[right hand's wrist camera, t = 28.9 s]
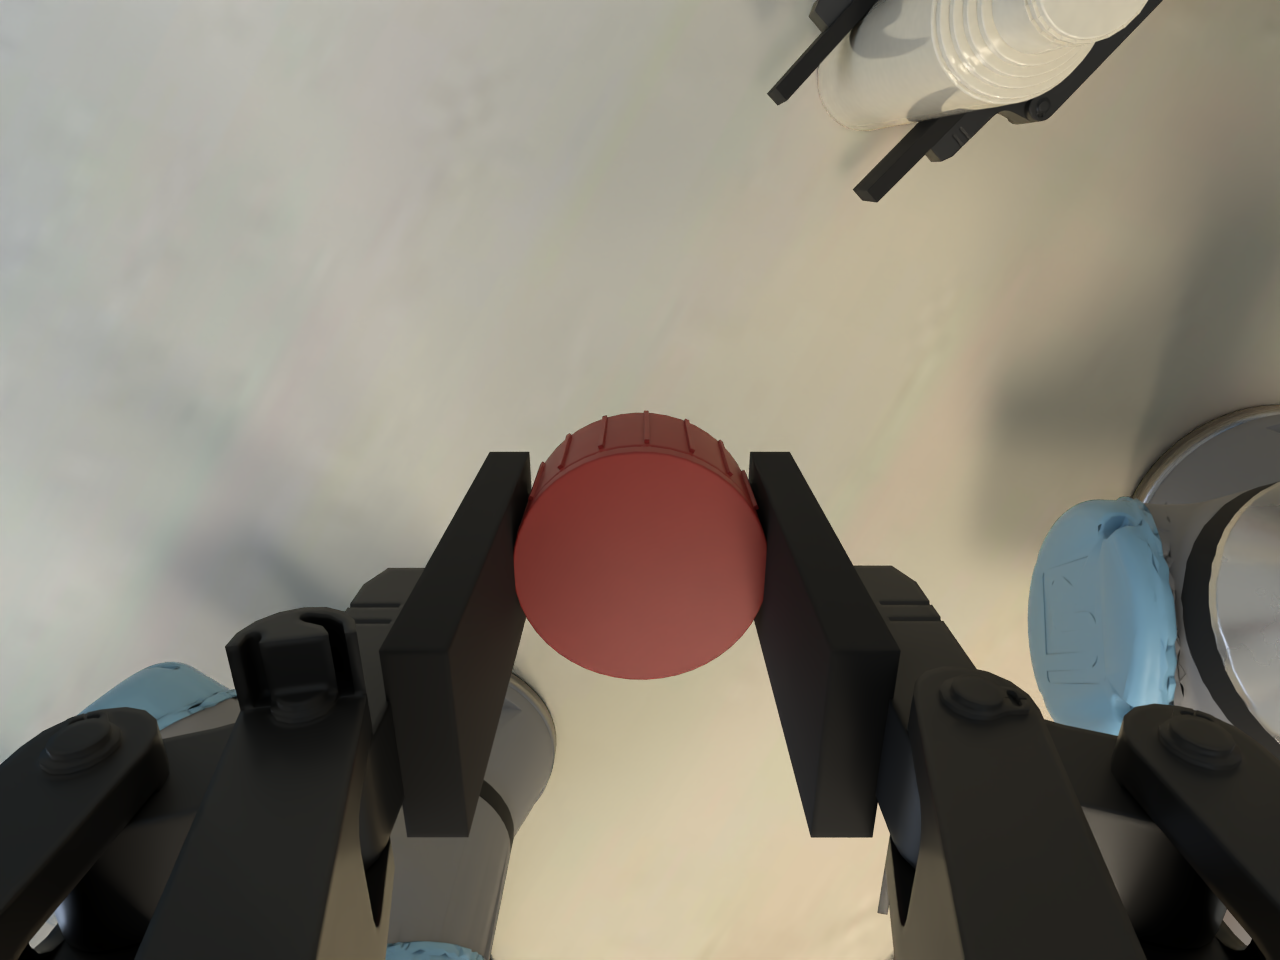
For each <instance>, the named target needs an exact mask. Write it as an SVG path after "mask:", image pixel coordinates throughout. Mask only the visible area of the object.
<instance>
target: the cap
mask: <svg viewBox="0 0 1280 960" xmlns="http://www.w3.org/2000/svg"><path fill="white" fill-rule="evenodd" d="M757 509H759V508H758V505H757V502H756V499H755V497H754V494H753V491H752V488H751V486H750V483H749V480H748V478H747V475H746V472H745V470H743V471H741V470H740V468H739V466H738V464H737V463H736V461H735V460H734V459H733V457H732V456H731V454H730V453H729V452H728V451H727V450H726V449H725V447H724V444H723V442H722V441H721V440H719V441H717V440H716V439H715V438H713V437H712V436H711V435H709V434H708V433H707V432H705V431H703V430H702V429H700V428H698V427H697V426H695V425H693V424H690V423H689V420H687V419H685V420H684V421H683V420H681V419H677V418H674V417H670V416H667V415H660V414H654V413H649V412H648V411H644V413H629V414H620V415H616V416H612V417H607V415H606V416H603V417H602V419H601V420H599V421H596V422H593V423H591V424H589V425H587V426H585V427H583V428H582V429H580V430H578V431H577V432H575V433H574V434H572V435H571V434H570V433H569V434H568V435H567V436H566V439H565V441H563V442H562V443H561V444H560V445H559V446H558V447H557V448H556V449H555V450H554V452H553V453H552V454H551V455H550V457H549V458H548V459H547V461H546V462H545V463H544V462H542V463H541V464H540V467H539V470H538V473H537V476H536V478H535V481H534V484H533V487H532V490H531V492H530V495H529V498H528V503H527V506H526V509H525V512H524V514H523V517H522V520H521V523H520V526H519V529H518V531H517V537H516V541H515V545H514V550H513V560H514V575H515V588H516V594H517V597H518V600H519V603H520V605H521V608H522V609H523V611H524V613H525V615H526V617H527V619H528V621H529V622H530V624H531V625H532V626H533V628H534V629H535V631H536V632H537V633H538V634H539V635H540V636H541V638H542V639H543V640H544V641H545V642H546V643H547V644H548V645H549V646H551V647H552V648H553V649H554V650H555V651H557V652H558V653H559V654H561V655H562V656H564V657H565V658H567V659H568V660H570V661H571V662H573V663H575V664H577V665H579V666H581V667H583V668H586V669H588V670H591V671H594V672H597V673H599V674H603V675H607V676H612V677H617V678H624V679H643V680H647V679H658V678H665V677H670V676H675V675H679V674H682V673H685V672H688V671H691V670H694V669H696V668H698V667H700V666H702V665H705V664H707V663H708V662H710V661H712V660H713V659H715V658H717V657H718V656H720V655H721V654H722V653H724V652H725V651H726V650H728V649H729V648H730V647H731V646H732V645H733V644H734V643H735V642H736V641H737V640H738V639H739V638H740V637H741V636H742V635H743V634H744V633H745V631H746V630H747V629H748V628H749V626H750V625H751V624H752V622H753V620H754V618H755V617H756V615H757V613H758V611H759V609H760V607H761V604H762V602H763V597H764V583H765V569H766V554H767V541H766V537H765V534H764V531H763V528H762V525H761V523H760V520H759V517H758V514H757V511H756V510H757Z"/></svg>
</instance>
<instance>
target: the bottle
mask: <svg viewBox="0 0 1280 960" xmlns="http://www.w3.org/2000/svg"><path fill="white" fill-rule="evenodd" d="M1147 1H1148V0H878V1H877V2H876V3H875V4H874V5H873V6H872V8H871V9H870V10H869V11H868V12H867V13H866V14H865V15H864V16H863V17H862V19H861V20H860V21H859V22H858V23H857V24H856V25H855V26H854V27H853V28H852V30H851V31H850V32H849V33H848V34H847V35H846V36H845V37H844V38H843V39H842V41H841V42H840V43H839V44H838V45H837V46H836V47H835V48H834V49H833V50H832V52H831V53H830V54H829V55H828V56H827V57H826V58H825V59H824V60H823V61H822V63H821V64H820V65H819V69H818V90H819V94H820V98H821V101H822V103H823V105H824V107H825V109H826V111H827V112H828V113H829V115H830V116H831V117H832V118H833V119H834V120H835V121H836V122H838V123H839V124H840V125H842V126H844V127H846V128H849V129H852V130H856V131H872V130H877V129H883V128H888V127H893V126H899V125H904V124H909V123H914V122H920V121H925V120H930V119H936V118H941V117H946V116H951V115H957V114H962V113H967V112H973V111H978V110H983V109H988V108H994V107H999V106H1004V105H1010V104H1015V103H1019V102H1023V101H1027V100H1030V99H1033V98H1035V97H1038V96H1040V95H1042V94H1044V93H1045V92H1047V91H1049V90H1051V89H1052V88H1054V87H1055V86H1056V85H1058V84H1059V83H1061V82H1062V81H1063V80H1064V79H1065V78H1066V77H1067V76H1069V75H1070V74H1071V73H1072V72H1073V70H1074V69H1075V68H1076V67H1077V66H1078V65H1079V64H1080V63H1081V62H1082V61H1083V59H1084V58H1085V57H1086V55H1087V54H1088V53H1089V51H1090V50H1091V48H1092V47H1093V45H1094V43H1095V42H1096V41H1100V40H1103V39H1106V38H1109V37H1110V36H1112V35H1114V34H1115V33H1117V32H1118V31H1120V30H1122V29H1123V28H1125V27H1126V26H1127V25H1128V24H1129V23H1130V22H1131V21H1132V20H1133V19H1134V18H1135V17H1136V16H1137V15H1138V14H1139V13H1140V12H1141V10H1142V9H1143V7H1144V6H1145V4H1146V3H1147Z"/></svg>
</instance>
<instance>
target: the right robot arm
mask: <svg viewBox="0 0 1280 960" xmlns="http://www.w3.org/2000/svg"><path fill="white" fill-rule="evenodd" d="M749 483H750V486H751V488H752V491H753V494H754V497H755V499H756V502H757V505H758V508H759V509H757V510H756V511H757V514H758V517H759V520H760V523H761V525H762V528H763V531H764V534H765V537H766V541H767V554H766V569H765V583H764V597H763V602H762V604H761V607H760V609H759V611H758V613H757V615H756V617H755V618H754V621H755V625H756V629H757V633H758V637H759V640H760V644H761V648H762V652H763V656H764V660H765V663H766V667H767V671H768V675H769V679H770V683H771V686H772V690H773V694H774V698H775V702H776V705H777V709H778V713H779V717H780V721H781V725H782V728H783V732H784V736H785V740H786V744H787V748H788V751H789V755H790V759H791V763H792V767H793V770H794V774H795V778H796V782H797V786H798V790H799V793H800V797H801V801H802V805H803V809H804V812H805V816H806V820H807V824H808V828H809V832H810V835H811V837H873V830H874V823H875V817H876V810H877V804H879V806H880V809H881V811H882V814H883V816H884V819H885V822H886V824H887V827H888V829H889V832H890V838H889V845H888V851H887V857H886V863H885V869H884V875H883V881H882V887H881V894H880V900H879V906H878V913H881V914H886V915H887V913H888V908H890V918H891V928H892V937H893V947H894V957H895V960H1280V760H1278V759H1277V758H1276V757H1275V756H1274V755H1273V754H1272V753H1270V752H1269V751H1268V750H1267V749H1266V748H1265V747H1264V746H1262V745H1261V744H1260V743H1259V742H1257V741H1256V740H1254V739H1253V738H1251V737H1250V736H1248V735H1247V734H1246V733H1244V732H1243V731H1241V730H1240V729H1238V728H1237V727H1235V726H1233V725H1231V724H1228V723H1226V722H1224V721H1222V720H1220V719H1218V718H1216V717H1214V716H1212V715H1210V714H1208V713H1205V712H1202V711H1199V710H1193V709H1191V708H1187V707H1182V706H1175V705H1165V704H1155V703H1154V704H1149V705H1143V706H1137V707H1134V708H1133V709H1132V710H1130V711H1129V712H1128V713H1127V714H1125V715H1124V717H1123V721H1122V724H1121V728H1120V731H1119V734H1118V736H1116V735H1111V734H1106V733H1102V732H1097V731H1092V730H1087V729H1082V728H1077V727H1072V726H1068V725H1063V724H1059V723H1056V722H1052V721H1048V720H1045V719H1044V718H1043V716H1042V714H1041V711H1040V709H1039V708H1038V707H1037V705H1036V704H1035V702H1034V701H1033V700H1032V698H1031V697H1030V696H1029V695H1028V694H1027V693H1026V692H1024V691H1023V690H1022V689H1020V688H1019V687H1017V686H1016V685H1015V684H1013V683H1012V682H1010V681H1008V680H1006V679H1004V678H1001V677H999V676H997V675H994V674H992V673H990V672H987V671H982V670H978V669H976V667H975V666H974V665H973V663H972V662H971V660H970V659H969V657H968V656H967V655H966V653H965V652H964V650H963V649H962V647H961V646H960V644H959V643H958V642H957V640H956V639H955V637H954V636H953V634H952V633H951V631H950V630H949V629H948V627H947V626H946V624H945V623H944V621H941V620H940V616H939V614H938V613H937V611H936V610H935V608H934V607H933V606H932V605H930V604H929V600H928V598H927V597H926V595H925V594H924V593H923V591H922V590H921V588H920V587H919V585H918V584H917V582H915V581H914V580H912V579H911V578H909V577H908V576H906V575H905V574H903V573H902V572H900V571H899V570H897V569H896V568H894V567H893V566H853V564H852V562H851V561H850V559H849V557H848V555H847V554H846V552H845V550H844V548H843V546H842V545H841V543H840V541H839V539H838V537H837V536H836V534H835V532H834V530H833V528H832V527H831V525H830V523H829V521H828V520H827V518H826V516H825V514H824V512H823V511H822V509H821V507H820V505H819V503H818V502H817V500H816V498H815V496H814V495H813V493H812V491H811V489H810V487H809V486H808V484H807V482H806V480H805V478H804V477H803V475H802V473H801V471H800V469H799V468H798V466H797V464H796V462H795V461H794V459H793V457H792V455H791V453H790V452H750V464H749ZM530 492H531V472H530V455H529V452H489V454H488V456H487V458H486V460H485V461H484V463H483V465H482V467H481V469H480V470H479V472H478V474H477V476H476V478H475V479H474V481H473V483H472V485H471V486H470V488H469V490H468V492H467V494H466V495H465V497H464V499H463V501H462V503H461V504H460V506H459V508H458V510H457V511H456V513H455V515H454V517H453V519H452V520H451V522H450V524H449V526H448V528H447V529H446V531H445V533H444V535H443V537H442V538H441V540H440V542H439V544H438V545H437V547H436V549H435V551H434V553H433V554H432V556H431V558H430V560H429V562H428V563H427V565H426V567H425V568H388V569H386V570H385V571H383V572H382V573H380V574H379V575H377V576H376V577H374V578H373V579H371V580H370V581H368V582H367V583H365V584H364V585H363V586H362V588H361V589H360V591H359V592H358V593H357V595H356V596H355V598H354V599H353V601H352V602H351V604H350V608H347V609H346V611H345V612H344V611H340V610H335V609H331V608H327V607H306V608H299V609H294V610H289V611H283V612H279V613H276V614H274V615H271V616H268V617H266V618H263V619H260V620H258V621H255V622H254V623H252V624H251V625H249V626H247V627H246V628H244V629H243V630H241V631H239V632H238V633H237V634H236V635H235V636H234V637H233V638H232V639H231V640H230V642H229V643H228V644H227V645H226V646H225V648H226V653H227V657H228V661H229V665H230V669H231V673H232V677H233V682H234V686H235V689H234V690H230V689H228V688H226V687H225V686H223V685H221V684H220V683H218V682H216V681H215V680H213V679H211V678H210V677H208V676H206V675H205V674H203V673H201V672H200V671H198V670H196V669H195V668H193V667H191V666H189V665H186V664H184V663H179V662H165V663H159V664H155V665H152V666H150V667H147V668H145V669H143V670H141V671H139V672H137V673H135V674H134V675H132V676H130V677H129V678H127V679H126V680H124V681H123V682H121V683H120V684H118V685H117V686H115V687H114V688H113V689H111V690H110V691H108V692H107V693H106V694H104V695H103V696H102V697H100V698H99V699H97V700H96V701H95V702H93V703H92V704H91V705H89V706H88V707H87V708H86V709H84V710H83V711H82V712H80V713H79V714H78V715H77V716H74V717H71V718H69V719H67V720H66V721H64V722H61V723H59V724H57V725H55V726H53V727H51V728H49V729H47V730H44V731H43V732H41V733H40V734H39V735H37V736H36V737H34V738H33V739H31V740H30V741H29V742H27V743H26V744H24V745H23V746H21V747H20V748H19V749H18V750H17V751H15V752H14V753H13V754H12V755H11V756H10V757H9V758H8V759H6V760H5V761H4V762H3V763H2V764H1V765H0V960H491V958H490V955H491V950H492V945H493V940H494V934H495V929H496V924H497V919H498V914H499V909H500V904H501V899H502V894H503V889H504V884H505V879H506V874H507V868H508V863H509V858H510V853H511V848H512V843H513V839H514V836H515V835H516V833H517V832H518V830H519V828H520V827H521V825H522V824H523V822H524V820H525V819H526V817H527V816H528V814H529V812H530V811H531V809H532V807H533V805H534V804H535V802H536V801H537V800H538V799H539V797H540V796H541V795H542V793H543V791H544V789H545V787H546V785H547V782H548V780H549V777H550V775H551V772H552V768H553V763H554V757H555V751H556V734H555V728H554V724H553V721H552V718H551V716H550V713H549V712H548V710H547V708H546V706H545V704H544V703H543V702H542V700H541V699H540V697H539V696H538V695H537V694H536V693H535V692H534V691H533V690H532V689H531V688H530V687H529V686H528V685H527V684H526V683H525V682H523V681H522V680H521V679H520V678H518V677H517V676H515V675H514V674H512V669H513V665H514V662H515V658H516V654H517V650H518V646H519V643H520V639H521V635H522V631H523V627H524V623H525V620H526V615H525V613H524V611H523V609H522V608H521V605H520V603H519V600H518V597H517V594H516V588H515V575H514V560H513V550H514V545H515V541H516V537H517V531H518V529H519V526H520V523H521V520H522V517H523V514H524V512H525V509H526V506H527V503H528V498H529V495H530ZM1227 909H1228V910H1229V912H1230V913H1231V914H1232V915H1233V916H1234V918H1235V919H1236V920H1237V921H1238V922H1239V923H1240V925H1241V926H1242V927H1243V928H1244V929H1245V931H1246V932H1247V933H1248V934H1249V935H1250V937H1251V938H1252V940H1251V942H1250V944H1249V945H1248V946H1247V945H1245V944H1244V943H1243V942H1242V941H1241V940H1240V939H1239V938H1238V937H1237V936H1236V935H1235V934H1234V933H1233V932H1232V931H1231V930H1230V928H1229V927H1228V926H1227V925H1226V924H1225V922H1224V921H1223V918H1224V915H1225V913H1226V910H1227Z"/></svg>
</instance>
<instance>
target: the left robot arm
mask: <svg viewBox="0 0 1280 960" xmlns="http://www.w3.org/2000/svg"><path fill="white" fill-rule="evenodd" d="M877 1H878V0H817V1H816V2H815V3H814V5H813V7H812V10H811V12H810V14H809V18H810V19H811V20H812V21H813V22H814V23H815V25H816V26H817V27H818V28H819V29H820V31H821V32H822V33H821V34H820V35H819V36H818V38H817V39H816V40H815V41H814V42H813V43H812V44H811V45H810V46H809V48H808V49H807V50H806V51H805V52H804V53H803V54H802V55H801V56H800V58H799V59H798V60H797V61H796V62H795V63H794V64H793V65H792V66H791V68H790V69H789V70H788V71H787V72H786V73H785V74H784V75H783V76H782V78H781V79H780V80H779V81H778V82H777V83H776V84H775V85H774V86H773V88H772V89H771V90H770V91H769V92H768V93H767V94H768V95H769V96H770V97H771V99H772V100H773V101H774V102H775V103H776V104H777V105H779V104H781V103H783V102H785V101H787V100H788V99H789V98H790V97H791V95H792V94H793V93H794V92H795V91H796V90H797V89H798V88H799V87H800V86H801V84H802V83H803V82H804V81H805V80H806V79H807V78H808V77H809V76H810V75H811V73H812V72H813V71H814V70H815V69H816V68H817V67H818V66H819V65H820V64H821V63H822V61H823V60H824V59H825V58H826V57H827V56H828V55H829V54H830V53H831V52H832V50H833V49H834V48H835V47H836V46H837V45H838V44H839V43H840V42H841V41H842V39H843V38H844V37H845V36H846V35H847V34H848V33H849V32H850V31H851V30H852V28H853V27H854V26H855V25H856V24H857V23H858V22H859V21H860V20H861V19H862V17H863V16H864V15H865V14H866V13H867V12H868V11H869V10H870V9H871V8H872V6H873V5H874V4H875V3H876V2H877ZM1161 2H1162V0H1148V1H1147V3H1146V4H1145V6H1144V7H1143V9H1142V10H1141V12H1140V13H1139V14H1138V15H1137V16H1136V17H1135V18H1134V19H1133V20H1132V21H1131V22H1130V23H1129V24H1128V25H1127V26H1126V27H1125V28H1123V29H1122V30H1120V31H1118V32H1117V33H1115V34H1114V35H1112V36H1110V37H1109V38H1106V39H1103V40H1100V41H1096V42H1095V43H1094V45H1093V47H1092V48H1091V50H1090V51H1089V53H1088V54H1087V55H1086V57H1085V58H1084V59H1083V61H1082V62H1081V63H1080V64H1079V65H1078V66H1077V67H1076V68H1075V69H1074V70H1073V72H1072V73H1071V74H1070V75H1069V76H1067V77H1066V78H1065V79H1064V80H1063V81H1062V82H1061V83H1059V84H1058V85H1056V86H1055V87H1054V88H1052V89H1051V90H1049V91H1047V92H1045V93H1044V94H1042V95H1040V96H1038V97H1035V98H1033V99H1030V100H1027V101H1023V102H1019V103H1015V104H1010V105H1004V106H999V107H994V108H988V109H983V110H978V111H973V112H967V113H962V114H957V115H951V116H946V117H941V118H936V119H930V120H925V121H920V122H919V123H918V124H917V125H916V126H915V127H914V128H913V129H912V130H911V131H910V132H909V133H908V134H907V135H906V136H905V137H904V138H903V139H902V140H901V141H900V142H899V143H898V144H897V145H896V146H895V147H894V148H893V149H892V150H891V151H890V152H889V153H888V154H887V155H886V156H885V157H884V158H883V159H882V160H881V161H880V162H879V163H878V164H877V165H876V166H875V167H874V168H873V169H872V171H871V172H870V173H869V174H868V175H867V176H866V177H865V178H864V179H863V180H862V181H861V182H860V183H859V184H858V185H857V186H856V187H855V188H854V189H853V190H854V192H855V193H856V194H857V195H858V196H859V197H860V198H861V199H862V200H863V201H871V202H878V201H879V200H880V199H881V198H882V197H883V196H884V195H885V194H886V193H887V192H888V191H889V190H890V189H891V188H892V187H893V186H894V185H895V184H896V183H897V182H898V181H899V180H900V179H901V178H902V177H903V176H904V175H905V174H906V173H907V172H908V171H909V170H910V169H911V168H912V167H913V166H914V165H915V164H916V163H917V162H918V161H919V160H920V159H921V158H922V157H923V156H924V155H926V156H927V157H928V159H929V160H930V161H931V162H940V161H943V160H946V159H948V158H950V157H952V156H953V155H954V154H955V153H956V152H957V151H958V150H959V149H960V148H961V147H962V146H963V145H964V144H965V143H966V142H968V141H969V139H971V138H972V137H973V136H974V135H975V134H976V133H977V132H978V131H979V130H980V129H981V128H982V127H983V126H984V125H985V124H986V123H987V122H988V121H989V120H990V119H991V118H992V117H993V116H994V115H995V114H997V113H998V114H1000V115H1002V116H1004V117H1006V118H1007V119H1008V121H1009V122H1011V123H1012V124H1024V123H1031V122H1039V121H1043V120H1046V119H1048V118H1049V117H1050V116H1052V115H1053V113H1054V112H1055V111H1056V110H1057V109H1058V108H1059V107H1060V106H1061V105H1062V104H1063V103H1064V102H1065V101H1066V100H1067V99H1068V98H1069V97H1070V96H1071V95H1072V94H1073V93H1074V92H1075V91H1076V90H1077V89H1078V88H1079V87H1080V85H1081V84H1082V83H1083V82H1084V81H1085V80H1086V79H1087V78H1088V77H1089V76H1090V75H1091V74H1092V73H1093V72H1094V71H1095V70H1096V69H1097V68H1098V67H1099V66H1100V65H1101V64H1102V63H1103V62H1104V61H1105V60H1106V59H1107V57H1108V56H1109V55H1110V54H1111V53H1112V52H1113V51H1114V50H1115V49H1116V48H1117V47H1118V46H1119V45H1120V44H1121V43H1122V42H1123V41H1124V40H1125V39H1126V38H1127V37H1128V36H1129V35H1130V34H1131V33H1132V32H1133V31H1134V30H1135V28H1136V27H1137V26H1138V25H1139V24H1140V23H1141V22H1142V21H1143V20H1144V19H1145V18H1146V17H1147V16H1148V15H1149V14H1150V13H1151V12H1152V11H1153V10H1154V9H1155V8H1156V7H1157V6H1158V5H1159V4H1160V3H1161ZM1028 636H1029V647H1030V654H1031V661H1032V666H1033V670H1034V675H1035V678H1036V682H1037V685H1038V688H1039V691H1040V692H1041V694H1042V696H1043V699H1044V702H1045V705H1046V708H1047V710H1048V712H1049V713H1050V715H1051V717H1052V718H1053V720H1054V722H1056V723H1059V724H1063V725H1068V726H1072V727H1077V728H1082V729H1087V730H1092V731H1097V732H1102V733H1106V734H1111V735H1116V736H1118V734H1119V731H1120V728H1121V724H1122V721H1123V717H1124V715H1125V714H1127V713H1128V712H1129V711H1130V710H1132V709H1133V708H1134V707H1137V706H1143V705H1149V704H1154V703H1155V704H1165V705H1175V706H1182V707H1187V708H1191V709H1193V710H1199V711H1202V712H1205V713H1208V714H1210V715H1212V716H1214V717H1216V718H1218V719H1220V720H1222V721H1224V722H1226V723H1228V724H1231V725H1233V726H1235V727H1237V728H1238V729H1240V730H1241V731H1243V732H1244V733H1246V734H1247V735H1248V736H1250V737H1251V738H1253V739H1254V740H1256V741H1257V742H1259V743H1260V744H1261V745H1262V746H1264V747H1265V748H1266V749H1267V750H1268V751H1269V752H1270V753H1272V754H1273V755H1274V756H1275V757H1276V758H1277V759H1278V760H1280V405H1269V406H1259V407H1253V408H1248V409H1244V410H1240V411H1236V412H1233V413H1230V414H1227V415H1224V416H1222V417H1220V418H1217V419H1215V420H1212V421H1210V422H1209V423H1207V424H1205V425H1203V426H1201V427H1199V428H1197V429H1196V430H1194V431H1192V432H1191V433H1189V434H1188V435H1186V436H1185V437H1184V438H1182V439H1181V440H1179V441H1178V442H1177V443H1176V444H1174V445H1173V446H1172V447H1171V448H1170V449H1169V450H1167V451H1166V452H1165V453H1164V454H1163V455H1162V456H1161V457H1160V458H1159V459H1158V460H1157V462H1156V463H1155V464H1154V465H1153V466H1152V467H1151V469H1150V470H1149V471H1148V472H1147V474H1146V475H1145V476H1144V478H1143V479H1142V481H1141V483H1140V484H1139V486H1138V487H1137V489H1136V491H1135V493H1134V495H1133V497H1132V498H1130V497H1120V498H1119V499H1117V500H1089V501H1085V502H1082V503H1079V504H1077V505H1075V506H1073V507H1072V508H1070V509H1069V510H1067V511H1066V512H1065V513H1064V514H1063V515H1062V516H1061V517H1060V518H1059V519H1058V520H1057V521H1056V522H1055V523H1054V525H1053V526H1052V528H1051V529H1050V531H1049V532H1048V534H1047V536H1046V537H1045V539H1044V541H1043V544H1042V546H1041V548H1040V551H1039V554H1038V558H1037V562H1036V565H1035V567H1034V571H1033V575H1032V580H1031V586H1030V593H1029V603H1028Z"/></svg>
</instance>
